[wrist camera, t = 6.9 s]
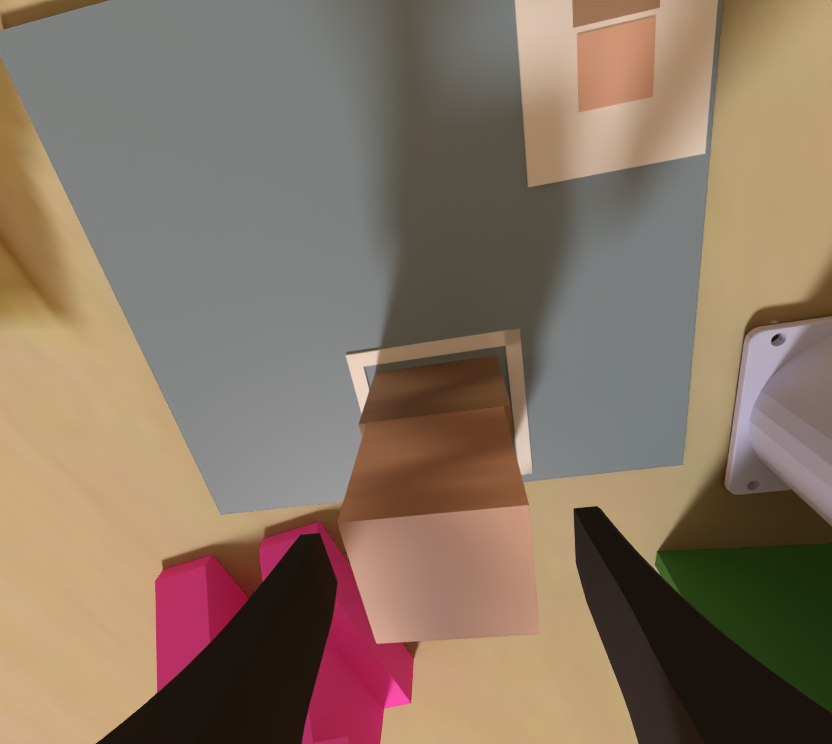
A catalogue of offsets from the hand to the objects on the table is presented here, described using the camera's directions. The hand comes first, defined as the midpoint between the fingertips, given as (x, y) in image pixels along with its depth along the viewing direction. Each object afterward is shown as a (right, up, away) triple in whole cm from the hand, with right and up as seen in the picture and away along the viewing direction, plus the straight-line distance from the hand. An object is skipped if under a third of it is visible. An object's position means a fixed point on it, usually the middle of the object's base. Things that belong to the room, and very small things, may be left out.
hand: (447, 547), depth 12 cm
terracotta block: (0, +2, +3) cm, 3 cm away
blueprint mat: (-2, +9, +5) cm, 10 cm away
